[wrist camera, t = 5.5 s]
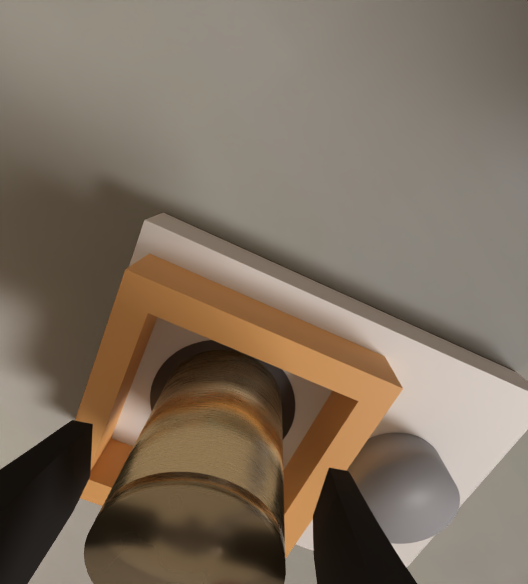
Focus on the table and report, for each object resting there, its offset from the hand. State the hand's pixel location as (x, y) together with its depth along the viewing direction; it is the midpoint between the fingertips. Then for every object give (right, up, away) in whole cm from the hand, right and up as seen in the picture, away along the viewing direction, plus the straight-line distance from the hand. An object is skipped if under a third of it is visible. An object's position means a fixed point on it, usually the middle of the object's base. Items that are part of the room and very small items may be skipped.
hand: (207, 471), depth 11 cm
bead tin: (0, +1, +3) cm, 3 cm away
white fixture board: (+3, 0, +5) cm, 6 cm away
